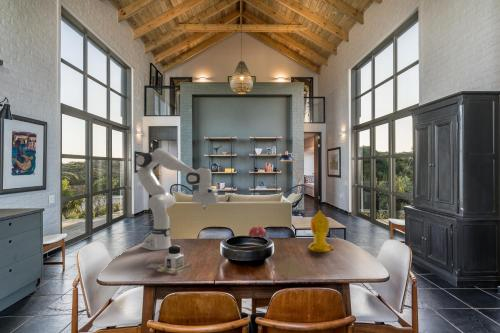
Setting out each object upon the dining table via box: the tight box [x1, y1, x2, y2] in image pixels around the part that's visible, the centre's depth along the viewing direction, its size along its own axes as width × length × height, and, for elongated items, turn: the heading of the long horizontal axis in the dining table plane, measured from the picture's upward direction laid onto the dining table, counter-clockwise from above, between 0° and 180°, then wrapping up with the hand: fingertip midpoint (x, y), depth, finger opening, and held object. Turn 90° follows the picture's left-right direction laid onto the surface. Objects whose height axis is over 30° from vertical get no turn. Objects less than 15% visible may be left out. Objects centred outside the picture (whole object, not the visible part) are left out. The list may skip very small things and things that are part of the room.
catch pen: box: [156, 262, 192, 275], centre depth 164 cm, size 14×13×2 cm
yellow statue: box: [308, 209, 334, 253], centre depth 210 cm, size 18×24×28 cm
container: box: [164, 245, 185, 269], centre depth 164 cm, size 8×8×13 cm
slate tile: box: [145, 263, 161, 270], centre depth 167 cm, size 6×6×2 cm
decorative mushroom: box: [248, 225, 267, 238], centre depth 217 cm, size 13×13×15 cm
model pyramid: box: [272, 254, 313, 280], centre depth 161 cm, size 17×17×10 cm
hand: (205, 209), depth 203 cm, fingers closed
